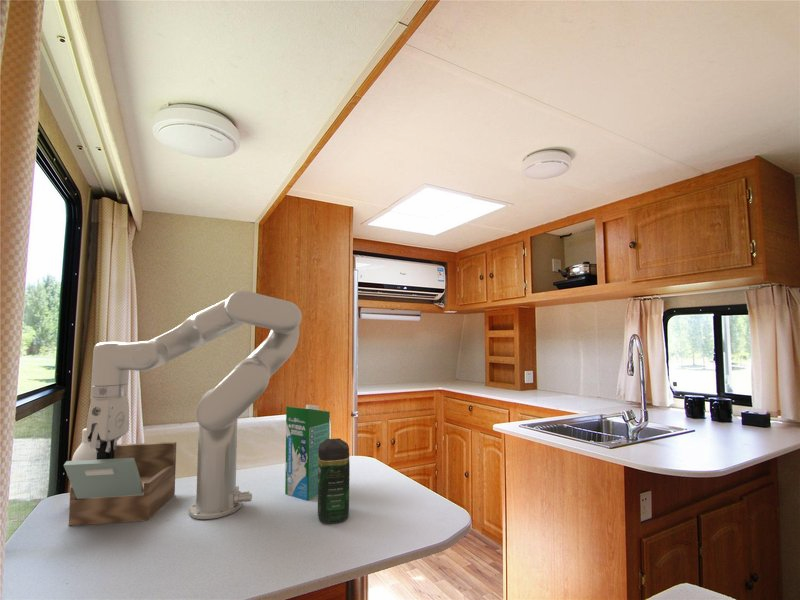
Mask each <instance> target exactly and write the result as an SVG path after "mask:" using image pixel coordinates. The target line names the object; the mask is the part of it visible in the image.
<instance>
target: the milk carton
mask: <svg viewBox="0 0 800 600" xmlns="http://www.w3.org/2000/svg"><path fill="white" fill-rule="evenodd" d="M285 407H286V409H285V478H284V479H285V485H284V486H285V487H284V488H285V490H284V493H285V495H288V496H290V497H291V496H292V497H295V498H298V499H302V500H305V501H310V500H312V499H314V498H315V497H318V452H319V449H318V447H319V445H320V444H321V443H322V442H323V441H325V440H326V439H331V437H330V436H331V435H330V430H331V429H330V427H331V426H330V424H331V423H330V422H331V421H330V420H331V419H330V418H331V416H330V415H331V414H330V413H331V411H327V410H320V406H319V405H313V404H306V405H305V408H303V407H295V406H288V405H286V406H285Z"/></svg>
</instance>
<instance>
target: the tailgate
mask: <svg viewBox="0 0 800 600" xmlns="http://www.w3.org/2000/svg"><path fill="white" fill-rule="evenodd" d="M63 468H64V470H65V472H66V476H67V478H68V479H69V482H70V483H71V485H72V488H73V490H74V493H75V495H76V498H77V499H79V498H95V497H112V496H128V495H142V493H143V491H144V489H143V486H142V482H141V479H140V476H139V472H138V469H137V466H136V462H135V459H134V458H120V459H100V460H79V461H72V460H66V461H65V462H64V464H63Z"/></svg>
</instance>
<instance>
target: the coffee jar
mask: <svg viewBox="0 0 800 600" xmlns="http://www.w3.org/2000/svg"><path fill="white" fill-rule="evenodd" d="M318 449H319V452H318V496H317V517H318V520H319V521H320V523H321V522H322V523H326V524H338V523H340V522H343V521H347V519H348V518H349V516H350V475H351V473H350V468H351V467H350V446H349V444H348V442H347V441H345V440H343V439H341V438H330V439H326V440H325V441H323V442H322V443H321V444H320V445H319V447H318Z"/></svg>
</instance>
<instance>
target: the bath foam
mask: <svg viewBox="0 0 800 600" xmlns="http://www.w3.org/2000/svg"><path fill="white" fill-rule="evenodd" d="M86 429H87V427H85V428H83V429H82V431H81V434H82V435H81V443H80V445H78V446H77V448H76V450H75V451H74V453H73V455H72V458H71V461H79V460H96V459H97V453H96V449H95V448H90V444H91V442H89V441H87V439H86ZM71 487H72V485H71V483H70V485H69V490H70V489H71ZM69 504H70V501H69Z"/></svg>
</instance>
